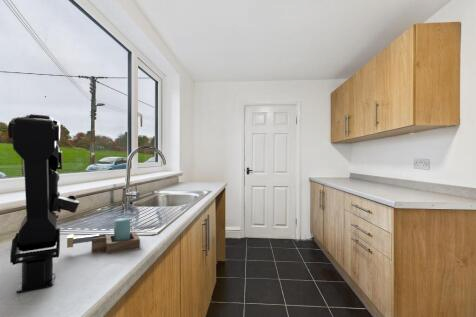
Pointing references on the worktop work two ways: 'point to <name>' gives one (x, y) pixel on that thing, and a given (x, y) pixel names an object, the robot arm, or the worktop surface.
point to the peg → (121, 229)
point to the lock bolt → (79, 239)
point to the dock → (114, 243)
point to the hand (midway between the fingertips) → (45, 241)
